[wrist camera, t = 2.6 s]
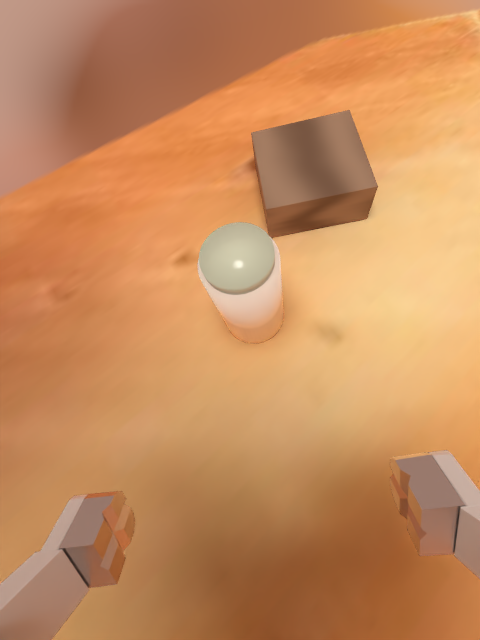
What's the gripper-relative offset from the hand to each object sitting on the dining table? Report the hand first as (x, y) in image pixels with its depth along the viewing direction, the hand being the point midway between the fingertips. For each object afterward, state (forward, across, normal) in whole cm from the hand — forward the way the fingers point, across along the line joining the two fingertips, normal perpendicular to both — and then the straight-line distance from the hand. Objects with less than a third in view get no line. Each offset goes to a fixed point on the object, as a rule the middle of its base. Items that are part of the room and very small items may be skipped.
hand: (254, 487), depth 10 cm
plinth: (+27, -7, -6) cm, 28 cm away
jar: (+18, 0, +2) cm, 19 cm away
